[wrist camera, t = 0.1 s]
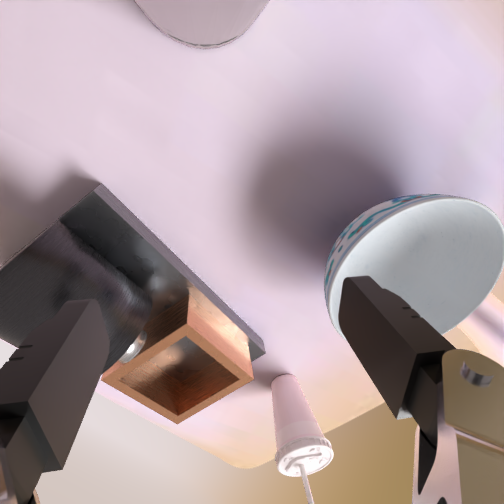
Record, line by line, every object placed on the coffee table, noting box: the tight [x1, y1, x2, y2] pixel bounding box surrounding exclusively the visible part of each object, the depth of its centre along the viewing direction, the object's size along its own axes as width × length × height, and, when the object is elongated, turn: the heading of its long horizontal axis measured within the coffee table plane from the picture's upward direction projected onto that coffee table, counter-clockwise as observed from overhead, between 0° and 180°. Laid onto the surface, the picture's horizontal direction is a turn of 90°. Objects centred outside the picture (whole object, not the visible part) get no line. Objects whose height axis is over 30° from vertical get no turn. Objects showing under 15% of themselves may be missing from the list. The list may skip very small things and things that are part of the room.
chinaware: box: [324, 194, 504, 341], centre depth 27 cm, size 15×15×8 cm
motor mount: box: [0, 183, 266, 424], centre depth 26 cm, size 24×12×10 cm, turn 35°
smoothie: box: [271, 374, 333, 504], centre depth 33 cm, size 6×6×14 cm
